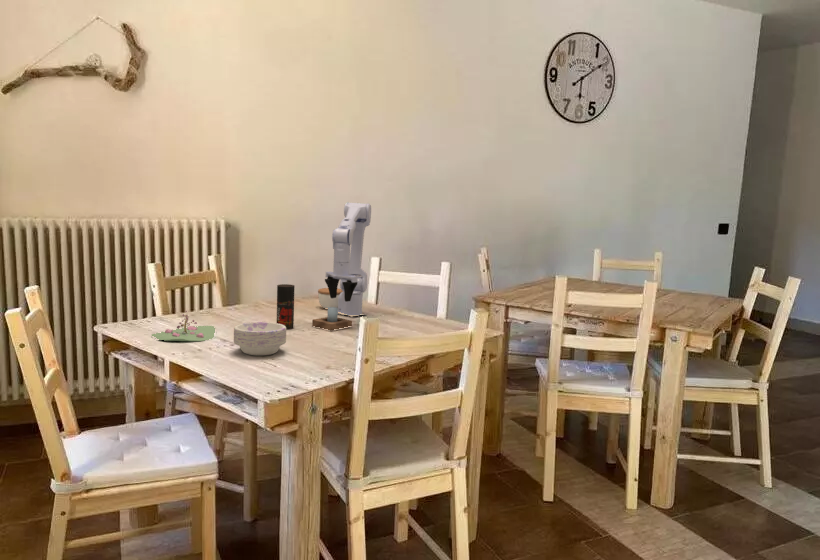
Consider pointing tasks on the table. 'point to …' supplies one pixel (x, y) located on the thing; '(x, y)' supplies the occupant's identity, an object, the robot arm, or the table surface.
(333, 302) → the lidded jar
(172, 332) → the plant
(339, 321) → the socket block
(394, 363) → the table surface
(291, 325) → the deodorant
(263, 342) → the paper bowls
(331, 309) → the peg
